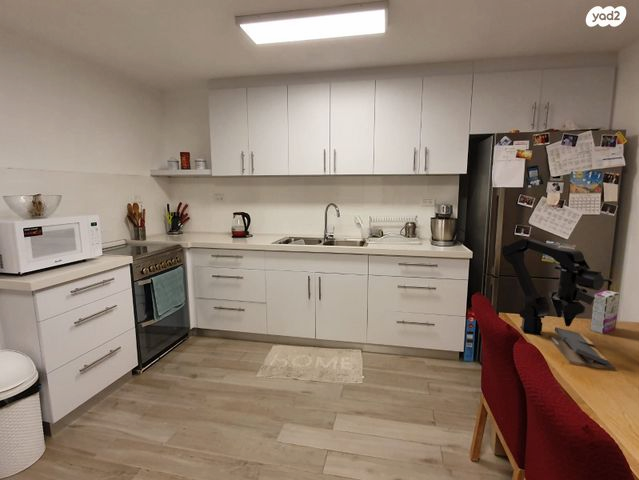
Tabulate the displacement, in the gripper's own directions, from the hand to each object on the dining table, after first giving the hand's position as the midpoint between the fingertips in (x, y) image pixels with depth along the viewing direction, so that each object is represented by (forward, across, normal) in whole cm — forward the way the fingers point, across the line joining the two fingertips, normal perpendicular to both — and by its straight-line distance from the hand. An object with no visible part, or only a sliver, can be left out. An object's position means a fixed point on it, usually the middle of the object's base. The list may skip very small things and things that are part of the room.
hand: (563, 321), depth 130 cm
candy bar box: (+10, +22, -22) cm, 32 cm away
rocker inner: (+6, 0, -4) cm, 7 cm away
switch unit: (+9, -6, -4) cm, 12 cm away
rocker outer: (+6, -11, -4) cm, 13 cm away
